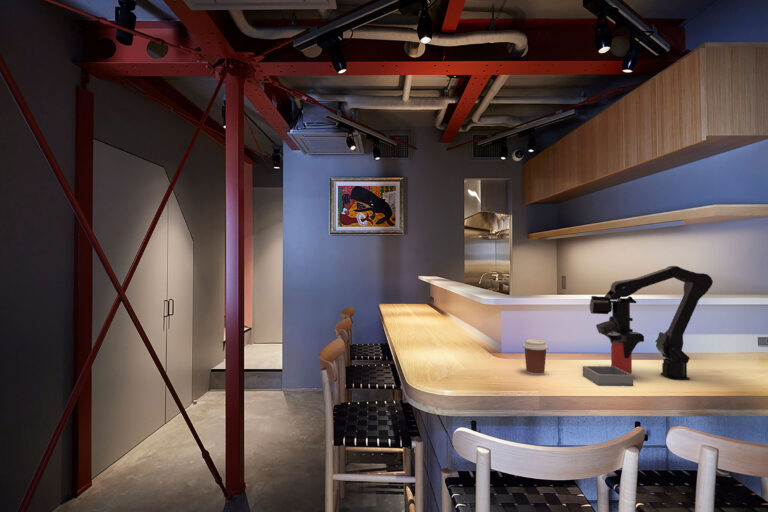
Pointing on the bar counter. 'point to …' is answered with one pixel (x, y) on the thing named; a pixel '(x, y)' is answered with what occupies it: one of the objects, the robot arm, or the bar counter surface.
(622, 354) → the beer can
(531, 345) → the coffee cup
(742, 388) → the bar counter surface
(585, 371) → the tray
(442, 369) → the bar counter surface
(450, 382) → the bar counter surface
